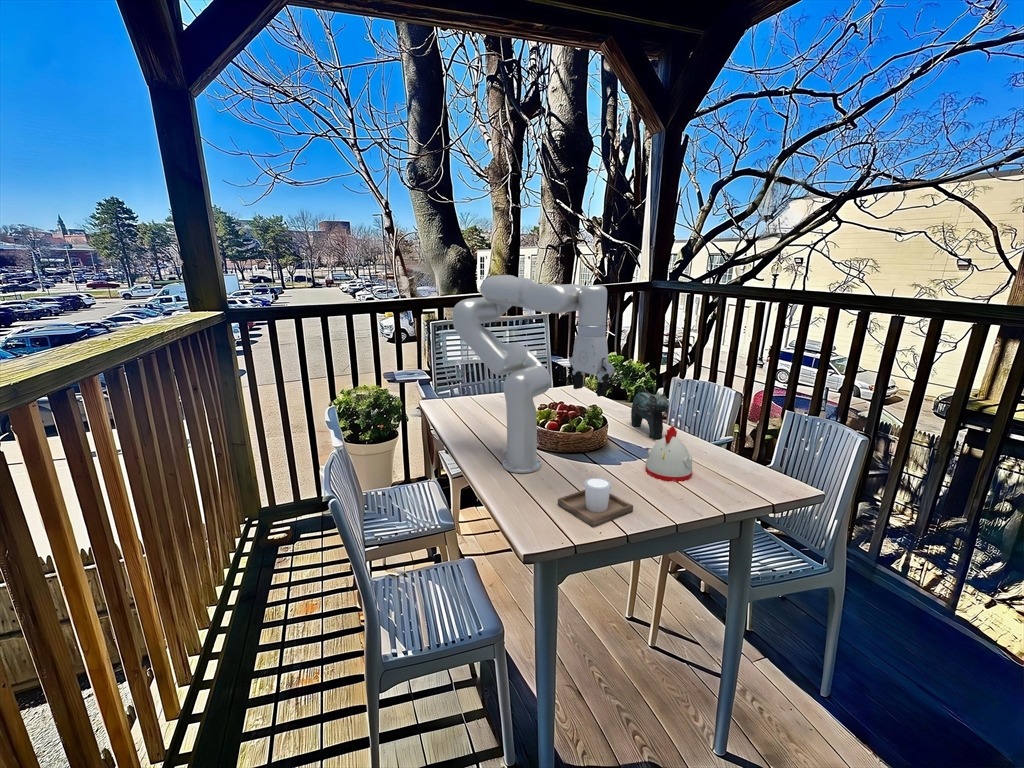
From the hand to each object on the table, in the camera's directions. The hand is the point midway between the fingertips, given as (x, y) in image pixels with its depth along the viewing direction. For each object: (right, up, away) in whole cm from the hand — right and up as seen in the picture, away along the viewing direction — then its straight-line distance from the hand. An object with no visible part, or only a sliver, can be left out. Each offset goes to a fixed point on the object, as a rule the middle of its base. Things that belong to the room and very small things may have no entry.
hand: (589, 391), depth 135 cm
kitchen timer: (+27, -26, +15) cm, 40 cm away
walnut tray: (0, -31, -7) cm, 32 cm away
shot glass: (+1, -31, -8) cm, 32 cm away
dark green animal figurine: (+30, -17, +50) cm, 61 cm away
